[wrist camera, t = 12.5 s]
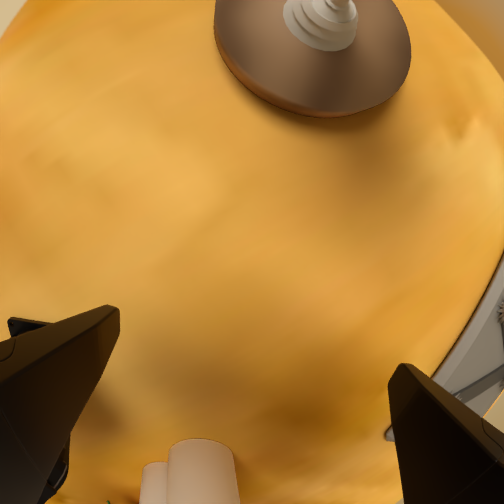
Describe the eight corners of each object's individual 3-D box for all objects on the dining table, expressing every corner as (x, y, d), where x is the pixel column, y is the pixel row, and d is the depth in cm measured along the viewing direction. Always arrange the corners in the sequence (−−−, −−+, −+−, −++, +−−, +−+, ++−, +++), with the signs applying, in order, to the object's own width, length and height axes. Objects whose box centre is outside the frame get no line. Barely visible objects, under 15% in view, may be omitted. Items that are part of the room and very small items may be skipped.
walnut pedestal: (202, 105, 17) (202, 95, 15) (225, -45, 14) (228, -63, 12) (393, 135, 20) (413, 132, 17) (387, -6, 16) (401, -17, 14)
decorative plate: (511, 214, 24) (557, 226, 18) (547, 285, 30) (577, 299, 23) (376, 432, 29) (402, 473, 22) (451, 439, 34) (472, 464, 27)
